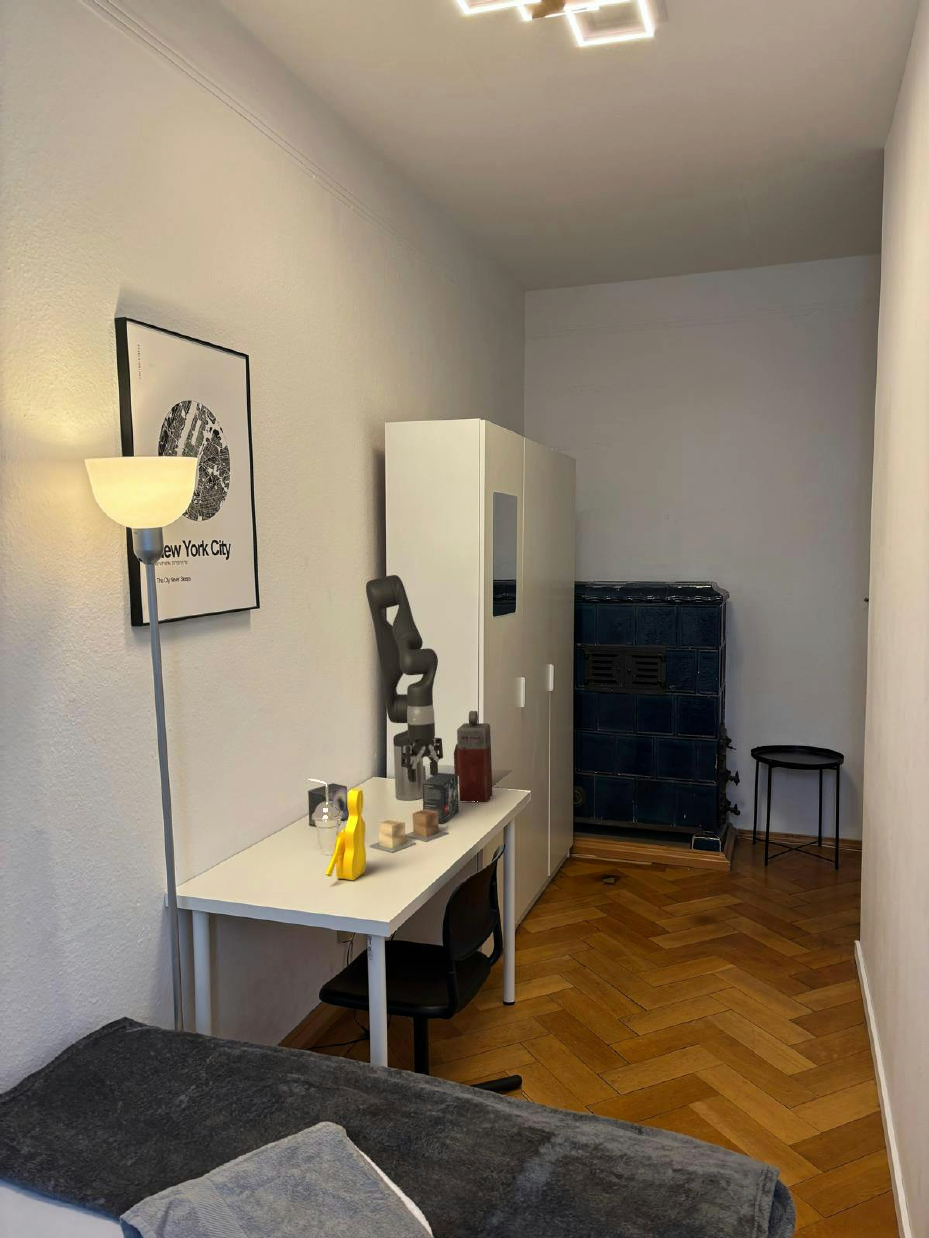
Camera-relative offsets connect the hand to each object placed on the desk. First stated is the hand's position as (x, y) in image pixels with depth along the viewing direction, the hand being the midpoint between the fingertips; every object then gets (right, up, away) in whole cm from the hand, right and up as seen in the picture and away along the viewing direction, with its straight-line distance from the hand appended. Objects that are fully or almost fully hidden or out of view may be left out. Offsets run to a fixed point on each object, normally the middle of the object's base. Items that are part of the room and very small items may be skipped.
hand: (423, 778), depth 266 cm
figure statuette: (-16, -19, -30) cm, 39 cm away
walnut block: (+1, -16, +1) cm, 16 cm away
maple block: (-8, -17, -7) cm, 20 cm away
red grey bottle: (+14, -13, +37) cm, 42 cm away
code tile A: (+1, -16, +1) cm, 16 cm away
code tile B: (-8, -17, -7) cm, 20 cm away
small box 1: (-29, -16, +17) cm, 37 cm away
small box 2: (+5, -15, +18) cm, 24 cm away
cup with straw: (-25, -18, -11) cm, 32 cm away
